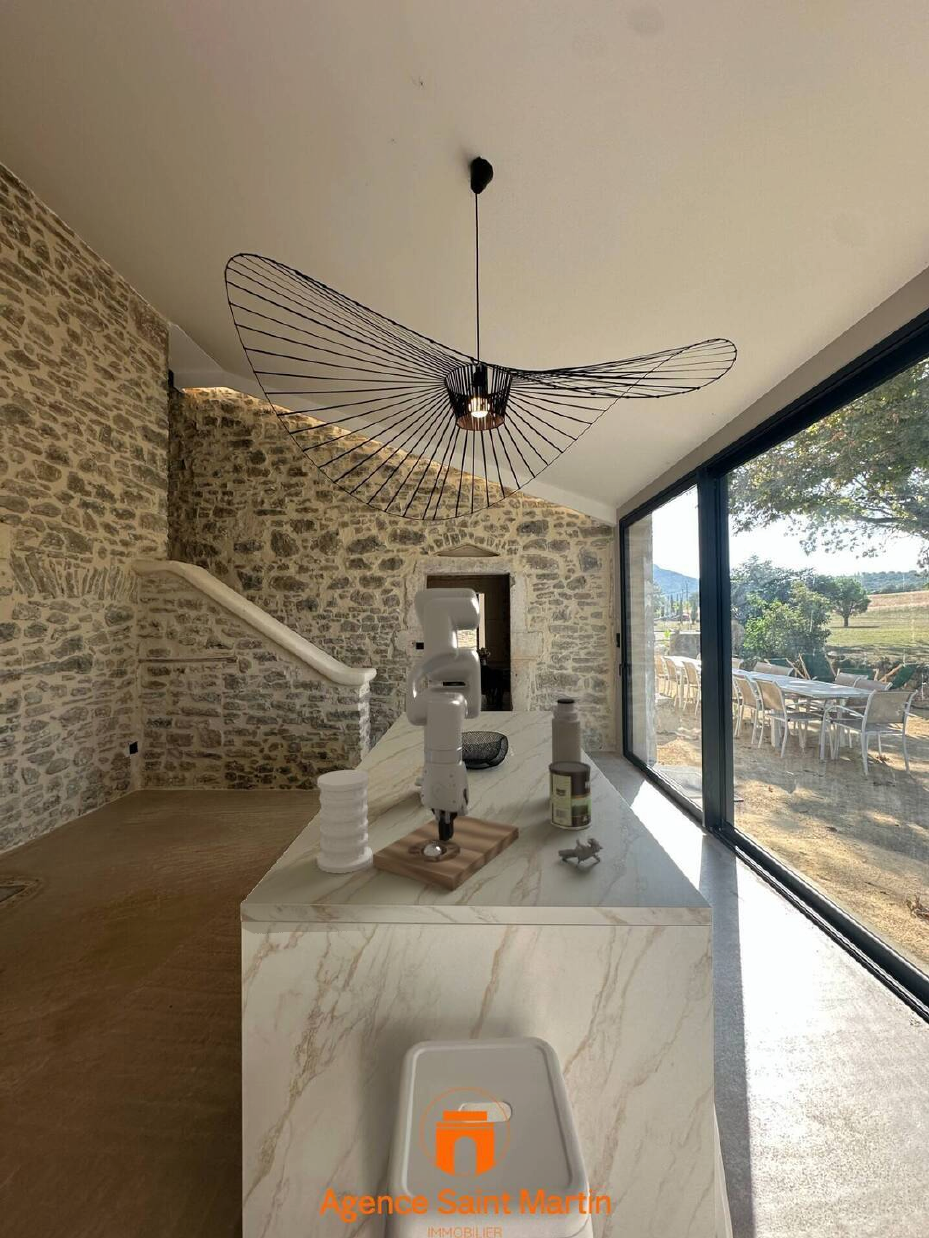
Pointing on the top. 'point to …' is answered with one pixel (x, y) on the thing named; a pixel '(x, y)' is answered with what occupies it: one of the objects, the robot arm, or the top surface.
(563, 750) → the thermos bottle
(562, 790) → the coffee can
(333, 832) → the decorative container
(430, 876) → the deck
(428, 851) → the ball
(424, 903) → the top surface
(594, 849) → the grey toy figure
